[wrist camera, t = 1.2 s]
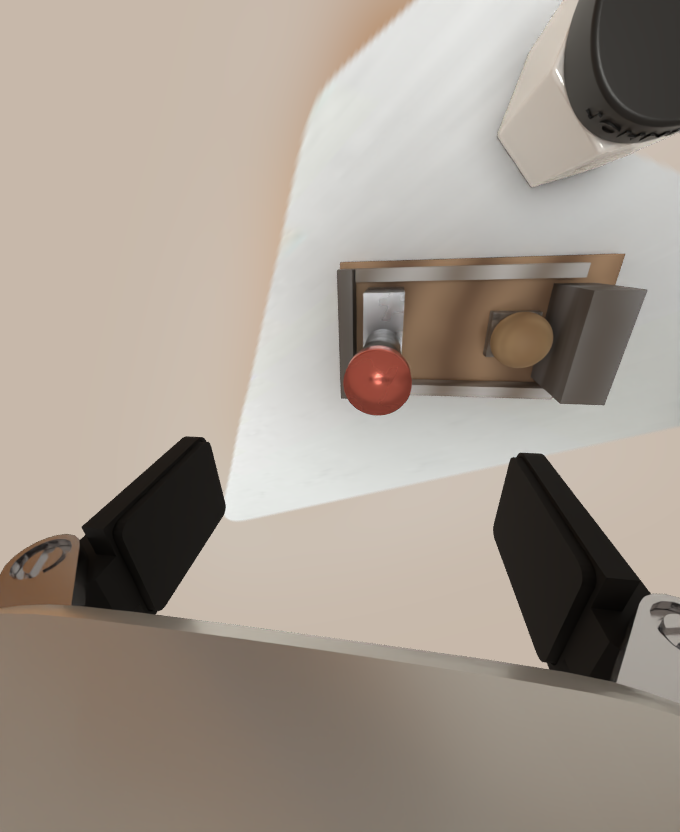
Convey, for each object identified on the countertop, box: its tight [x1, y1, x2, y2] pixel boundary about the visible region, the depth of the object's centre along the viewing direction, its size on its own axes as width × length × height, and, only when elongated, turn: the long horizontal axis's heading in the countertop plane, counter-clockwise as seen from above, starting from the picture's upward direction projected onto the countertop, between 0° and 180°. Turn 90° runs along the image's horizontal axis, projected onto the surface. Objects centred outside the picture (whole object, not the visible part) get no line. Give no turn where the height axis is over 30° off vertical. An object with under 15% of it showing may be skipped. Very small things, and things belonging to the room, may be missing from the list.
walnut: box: [490, 312, 553, 368], centre depth 26 cm, size 4×4×4 cm
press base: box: [337, 254, 647, 405], centre depth 26 cm, size 22×12×7 cm, turn 91°
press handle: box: [343, 287, 412, 415], centre depth 24 cm, size 4×8×13 cm, turn 1°
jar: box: [497, 0, 680, 187], centre depth 17 cm, size 9×8×12 cm
